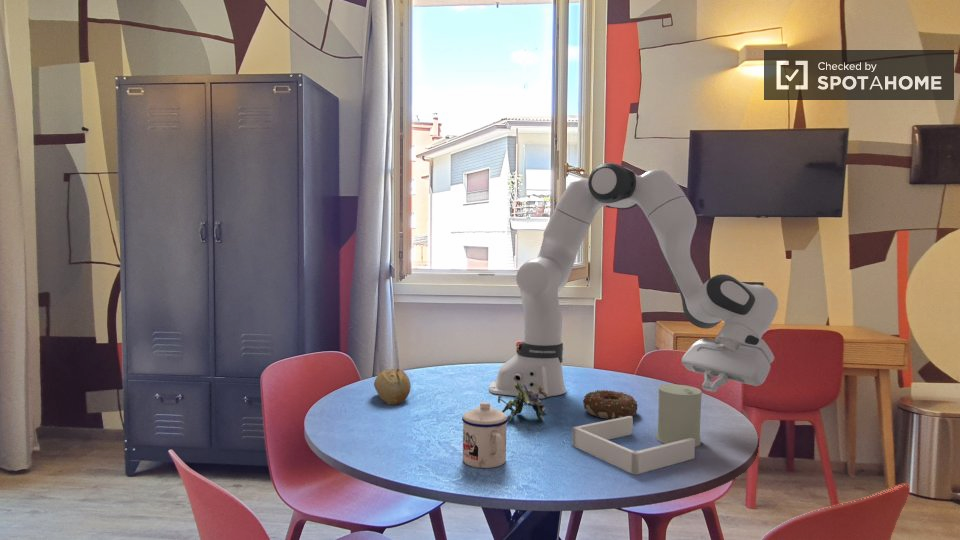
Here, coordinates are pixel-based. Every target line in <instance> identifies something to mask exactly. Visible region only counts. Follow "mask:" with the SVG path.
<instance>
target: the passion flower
mask: <svg viewBox="0 0 960 540" xmlns="http://www.w3.org/2000/svg"><path fill="white" fill-rule="evenodd" d="M523 385H524V384H523ZM515 388H516V389H517V390H518V392H519V394H518V396H515V398H514V399H513V400H509V401H508V402H506V401H504V400H503V399H502V396H501V395H498V396H497V403H498V404H500V403H501V402H503V403H504V404H505V406H504V408H503V409H502V411H501V412H503V413H505V412H506V411H508V410H510V417H509V419H508V423H510V422H511V421H512V420H513V418H514V417H515V416H517V415H519V414H521V413H522V411H523V408H524V406H529V407H532V409H533V410H534V411H535V414H536V418H537V420H538V422H540V423H541V422H544V419H543V417H546V416H547V413H546V411H547V409H548V408H547V407H546V406H545V404H543V401H542V400H540V398H539V397H538V395H539V394H543V395H544V396H545V397H546V398H548V397H547V394H546V393H545V392H544V390H543V389H542V388H541V387H540V386H538V385H537V388H538V390H539V392H538V393H537V394H534V393H533V392H532V391H531V389H528V388H527V386H526V385H524V386H521V384H520V383H519V382H517V384H515ZM513 407H514V408H515V409H514V408H513Z"/></svg>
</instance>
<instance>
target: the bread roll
mask: <svg viewBox="0 0 960 540" xmlns="http://www.w3.org/2000/svg"><path fill="white" fill-rule="evenodd" d="M410 380H411V379H410V378H409V376H408V375H407V373H406V372H405V371H403V370H400V369H398V368H397V369H396V370H395V369H388V370H383V371H381V372H379V373H378V374H377V375H376V378H375V379H374V384H373V386H374V388H375V390H376V393H377V395H378V396H379V398H380V399H381V400H382V401H383V402H384V403H386V404H388V405H391V406H392V405H393V406H396V405H400V404H402V403H403V402H405V401H406V399H407V398H408V396H409V394H410V393H411V381H410Z"/></svg>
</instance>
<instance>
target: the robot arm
mask: <svg viewBox="0 0 960 540" xmlns="http://www.w3.org/2000/svg"><path fill="white" fill-rule="evenodd" d="M637 206H639V208H640V209H641V210H642V212H643V214H644V215H645V217H646V219H647V220H648V222H649V224H650V226H651V228H652V230H653V232H654V234H655V237H656V239H657V242H658V244H659V248H660V251H661V254H662V258H663V259H664V262H665V264H666V266H667V268H668V271H669V273H670V274H671V277H672V279H673V281H674V284H675V286H676V288H677V290H678V293H679V295H680V298H681V305H682V310H683V314H684V316H685V318H686V319H687V321H688V322H690V323H691V324H692V325H693V326H695V327H697V328H701V329H705V330H706V329H712V328H715V327H716V326H718V325H719V324H720V323H721V322H722V321H723V323H724V324H723V326H722V327H721V329H720V331H719V333H718V334H717V336H716V337H715V338H714V339H710V338H705V337H704V338H702V339H699V340H696V341H695V342H694V343H693V344H692V345H691V346H690V347H689V348H688V349H687V350H686V352H685V353H684V354H683V356H682V357H681V363H682V365H683V367H685V369H686V370H687V371H690V372H693V373H698V374H702V375H703V377H704V378H703V380H704V381H703V383H702V384H701V388H702V390H704V391H708V392H711V393H716V392H717V391H718V390H719V388H720V387H723V386H724V385H726V384H727V383H728V381H732V382H737V383H740V384H745V385H750V386H753V387H758V386H761V385H762V384H764V382H765V381H766V379H767V377H768V375H769V373H770V371H771V367H772V366H771V364H772V363H773V362H774V360H775V355H774V354H773V352H772V350H771V349H770V347H769V346H768V344H767V343H766V341H765V340H764V339H763V338H762V337H763V335H764V334H765V333H767V332H768V330H769V328H770V326H771V325H772V323H773V321H774V320H775V319H774V318H775V317H776V314H777V311H778V310H779V309H778V308H779V300H778V297H777V296H776V294H775V292H773V291H772V290H771V289H769V288H768V287H766V286H764V285H761V284H748V283H745V282H741V281H739V280H737V278H735V277H734V276H731V275H729V274H716V275H714V276H712V277H711V278H709V279H708V280H707V281H706V282H704V283H703V281H702V279H701V276H700V275H699V273H698V270H697V269H696V267H695V264H694V262H693V259H692V258H691V245H692V240H693V237H694V234H695V230H696V228H697V221H698V220H697V219H698V218H697V215H696V212H695V209H694V207H693V205H692V203H691V202H690V200H689V199H688V197H687V195H686V194H685V192H684V191H683V189H682V188H681V187H680V186H679V184H678V183H677V182H676V181H675V179H674V178H673V177H672V176H671V175H670V174H669V173H668V172H667V171H666V170H665V169H661V168H656V169H650V170H647V171H645V172H644V173H643V174H640V175H639V174H637V173H635V172H634V171H633V170H631V169H630V168H628V167H626V166H623V165H621V164H618V163H613V162H604V163H601V164H598V166H596V167H595V168H594V169H593V170H592V171H591V173H590V174H589V176H588V178H587V177H576V178H574V179H573V180H572V181H571V182H570V183H569V184H568V186H567V187H566V189H565V190H564V191H563V193H562V195H561V196H560V198H559V200H558V201H557V204H556V206H555V208H554V210H553V212H552V214H551V215H550V218H549V221H548V223H547V224H546V227H545V228H544V230H543V238H542V241H541V242H542V243H541V246H540V250H539V253H538V255H537V257H535V258H531V259H528V260H526V261H525V262H524V263H523V264H522V265H521V266H520V267H519V268H518V271H517V273H516V278H515V279H516V280H515V281H516V285H517V287H518V288H519V291H520V298H521V299H520V300H521V303H522V304H521V305H522V310H523V341H522V340H518V341H517V342H516V343H515V346H516V354H515V355H514V356H513V357H511V358H510V359H508V360H507V361H506V362H504V363H503V364H502V365H501V366H499V367H500V368H499V369H498V371H497V376H496V379H495V380H492V382H490V384H489V386H488V390H489V392H490V393H491V394H495V395H504V396H511V397H513V396H514V397H516V396H517V397H518V394H519V392H518V390H517V389H516V388H515V384H517V382H519V383H520V384H521V386H524V385H526V386H527V388H528V389H531V391H532V392H533V393H534V394H537V393H538V392H539V390H538V388H537V385H538V386H540V387H541V388H542V389H543V390H544V392H545V393H546V394H547V397H545V396H544V395H543V394H539V395H538V397H539V398H538V399H546V398H549V397H555V396H560V395H564V394H566V392H567V388H566V385H565V381H564V380H565V379H564V373H563V372H564V371H563V362H564V344H563V342H562V341H563V339H562V335H563V315H562V313H561V309H560V307H561V306H560V303H559V301H560V300H559V295H558V294H559V293H558V292H560V291H562V290H563V289H564V288H565V287H566V285H567V284H568V281H569V278H570V275H571V272H572V270H573V267H574V265H575V261H576V258H577V255H578V252H579V249H580V247H581V245H582V242H583V241H584V239H585V237H586V235H587V233H588V231H589V229H590V226H591V225H592V223H593V221H594V218H595V216H596V215H597V213H598V211H599V210H600V209H601V208H603V207H607V208H609V209H617V210H630V209H634V208H635V207H637ZM714 378H716V379H715V380H714ZM711 380H714V381H711ZM523 384H524V385H523Z"/></svg>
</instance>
